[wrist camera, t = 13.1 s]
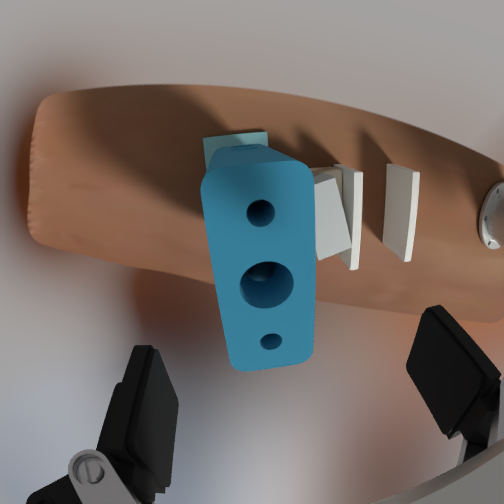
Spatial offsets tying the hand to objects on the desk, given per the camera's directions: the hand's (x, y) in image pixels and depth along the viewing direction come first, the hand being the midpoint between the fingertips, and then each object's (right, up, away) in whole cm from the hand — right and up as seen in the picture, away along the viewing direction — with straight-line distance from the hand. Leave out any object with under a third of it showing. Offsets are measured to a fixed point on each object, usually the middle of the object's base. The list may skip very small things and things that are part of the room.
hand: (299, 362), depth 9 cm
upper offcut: (+6, +8, +22) cm, 25 cm away
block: (-3, +10, +24) cm, 26 cm away
